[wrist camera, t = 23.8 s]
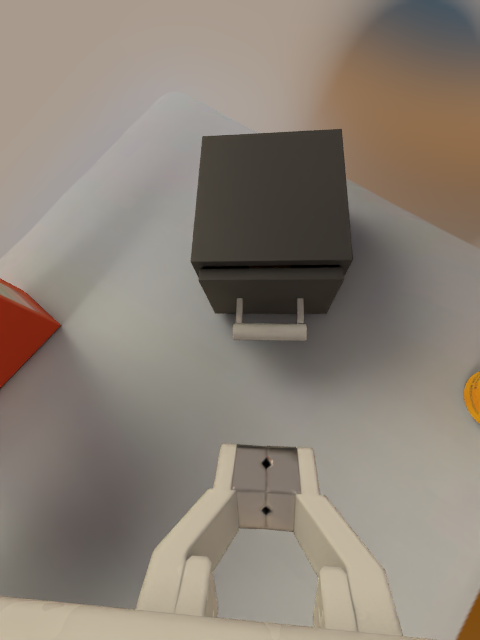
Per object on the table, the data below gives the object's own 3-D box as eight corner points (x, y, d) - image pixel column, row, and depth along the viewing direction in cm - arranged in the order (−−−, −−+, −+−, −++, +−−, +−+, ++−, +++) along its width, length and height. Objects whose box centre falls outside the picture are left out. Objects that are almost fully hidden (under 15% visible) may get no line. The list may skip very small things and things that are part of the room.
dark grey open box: (329, 305, 36) (353, 259, 26) (212, 305, 37) (190, 261, 27) (323, 202, 40) (341, 128, 30) (218, 205, 42) (202, 136, 32)
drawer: (328, 350, 34) (347, 327, 25) (212, 349, 35) (194, 326, 26) (321, 214, 39) (335, 157, 30) (221, 217, 40) (208, 163, 32)
